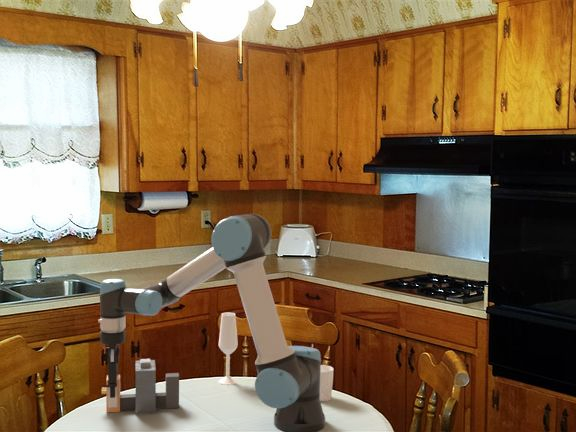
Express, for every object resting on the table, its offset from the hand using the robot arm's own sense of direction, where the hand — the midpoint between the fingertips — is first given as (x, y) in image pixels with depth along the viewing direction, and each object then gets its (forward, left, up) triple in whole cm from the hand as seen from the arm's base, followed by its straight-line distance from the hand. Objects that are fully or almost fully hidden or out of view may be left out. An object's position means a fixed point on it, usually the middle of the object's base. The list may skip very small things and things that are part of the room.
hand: (113, 403), depth 224 cm
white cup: (-39, -54, -2) cm, 66 cm away
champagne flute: (-5, -44, -2) cm, 44 cm away
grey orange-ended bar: (-5, -7, -2) cm, 9 cm away
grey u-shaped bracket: (-6, -8, -2) cm, 10 cm away
